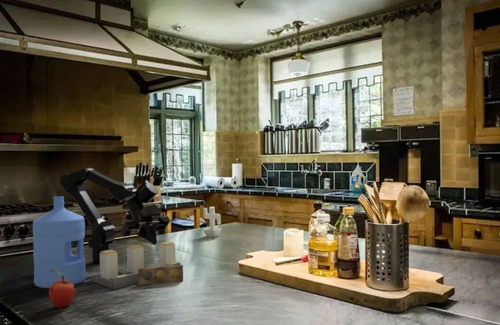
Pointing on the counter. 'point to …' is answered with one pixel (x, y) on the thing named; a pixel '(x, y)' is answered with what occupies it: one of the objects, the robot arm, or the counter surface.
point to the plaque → (160, 274)
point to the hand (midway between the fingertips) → (155, 243)
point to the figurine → (212, 222)
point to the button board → (125, 278)
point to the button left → (108, 264)
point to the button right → (166, 253)
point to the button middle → (135, 258)
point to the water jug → (58, 246)
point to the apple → (61, 292)
